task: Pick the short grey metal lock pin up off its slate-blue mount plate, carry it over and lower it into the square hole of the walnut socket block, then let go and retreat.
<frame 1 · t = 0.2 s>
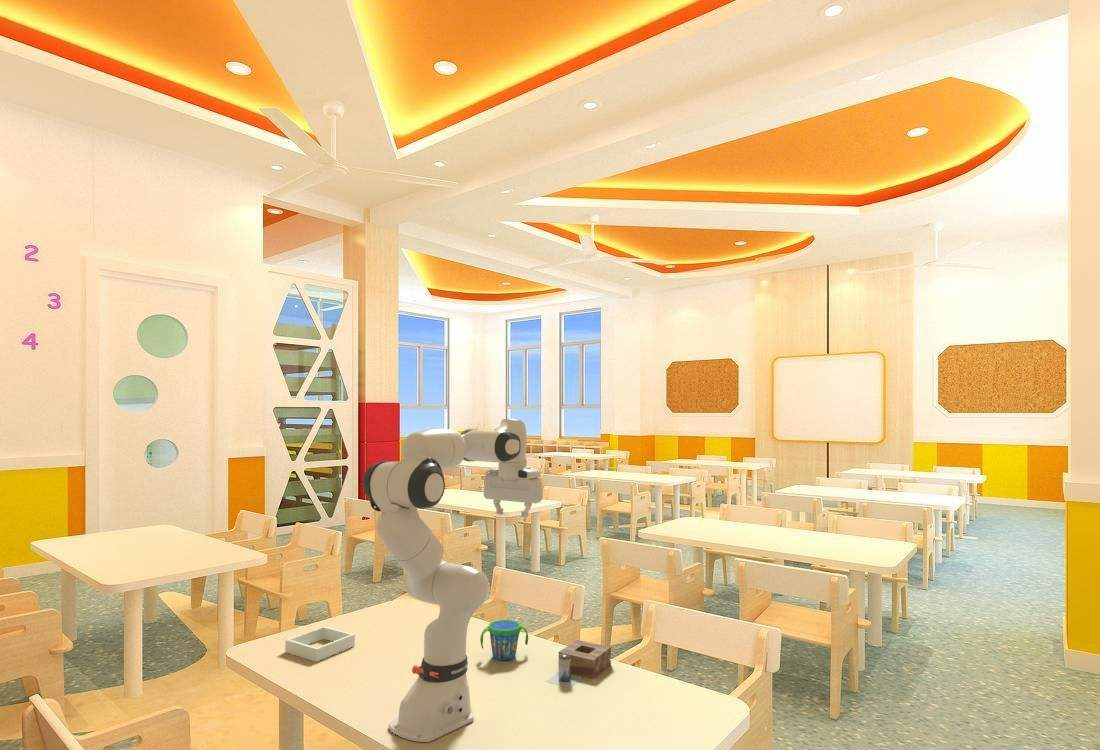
hand: (512, 515, 194), 47 cm above the table, fingers open, 8 cm apart
mount plate: (564, 681, 185), on the table
socket block: (585, 669, 194), on the table
lock pin: (564, 679, 185), point 1 cm above the table, touching mount plate
coaster tray: (320, 649, 209), on the table
snack cup: (504, 657, 203), on the table
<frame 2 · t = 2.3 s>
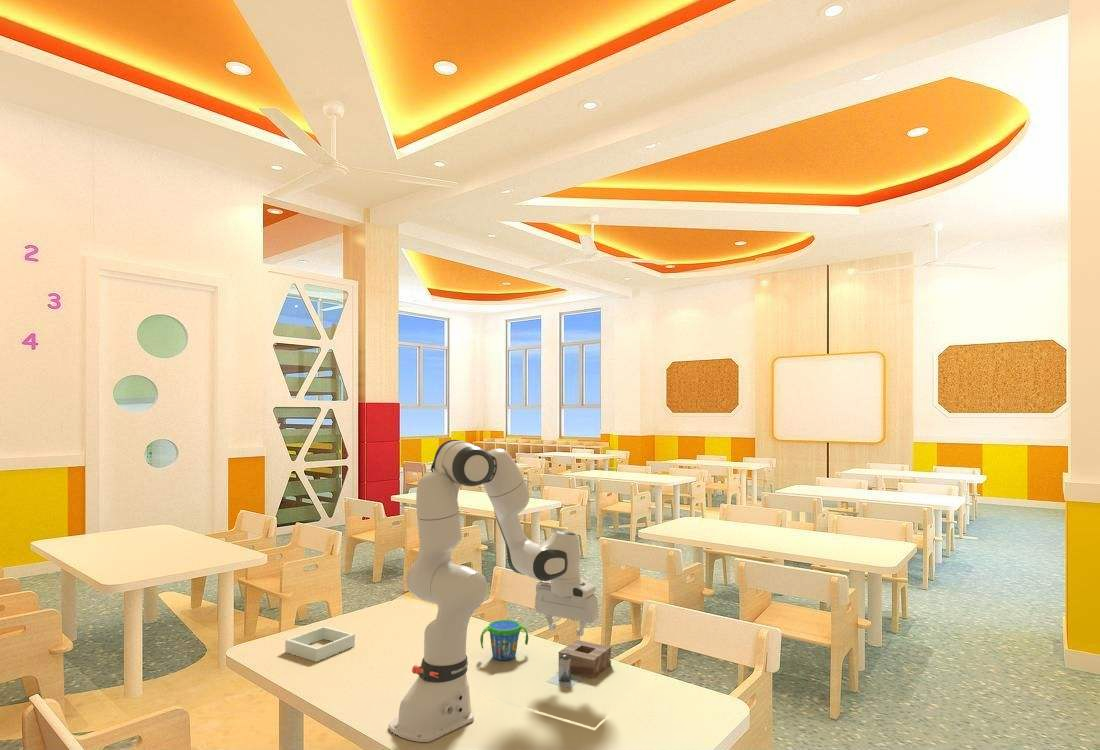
hand: (566, 632, 186), 14 cm above the table, fingers open, 8 cm apart
nothing on the table moved.
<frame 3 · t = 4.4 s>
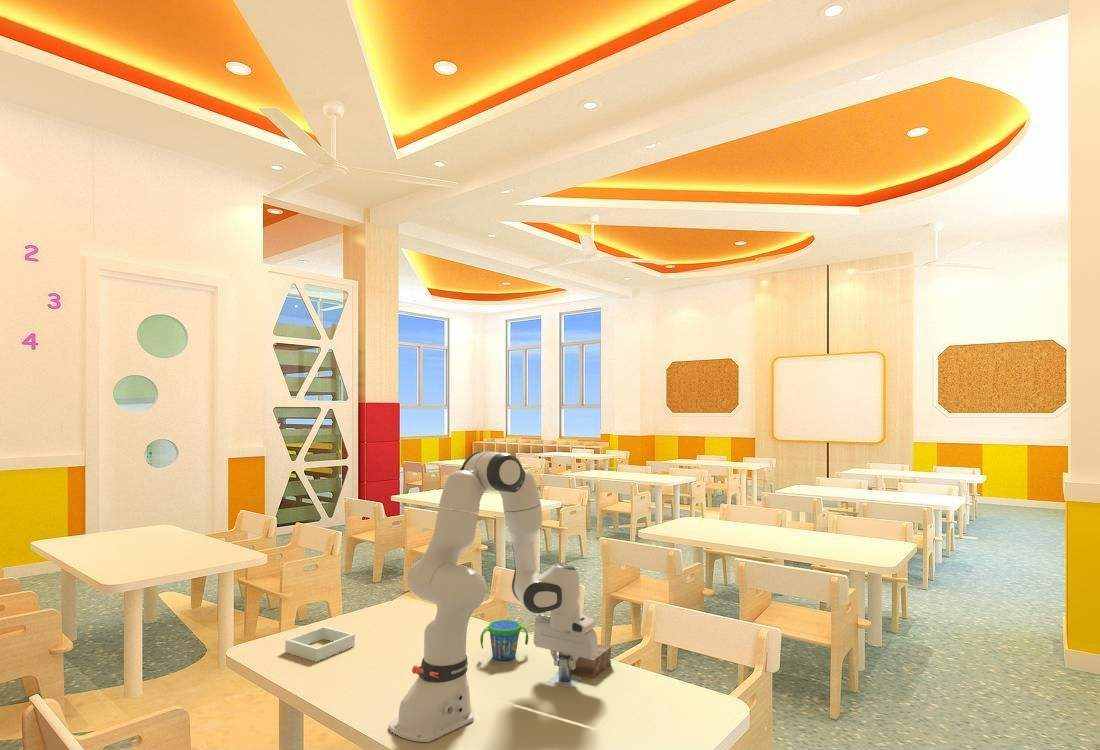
hand: (564, 667, 185), 4 cm above the table, fingers closed on lock pin, 4 cm apart
lock pin: (564, 679, 185), point 1 cm above the table, touching gripper, mount plate
everything else where it was.
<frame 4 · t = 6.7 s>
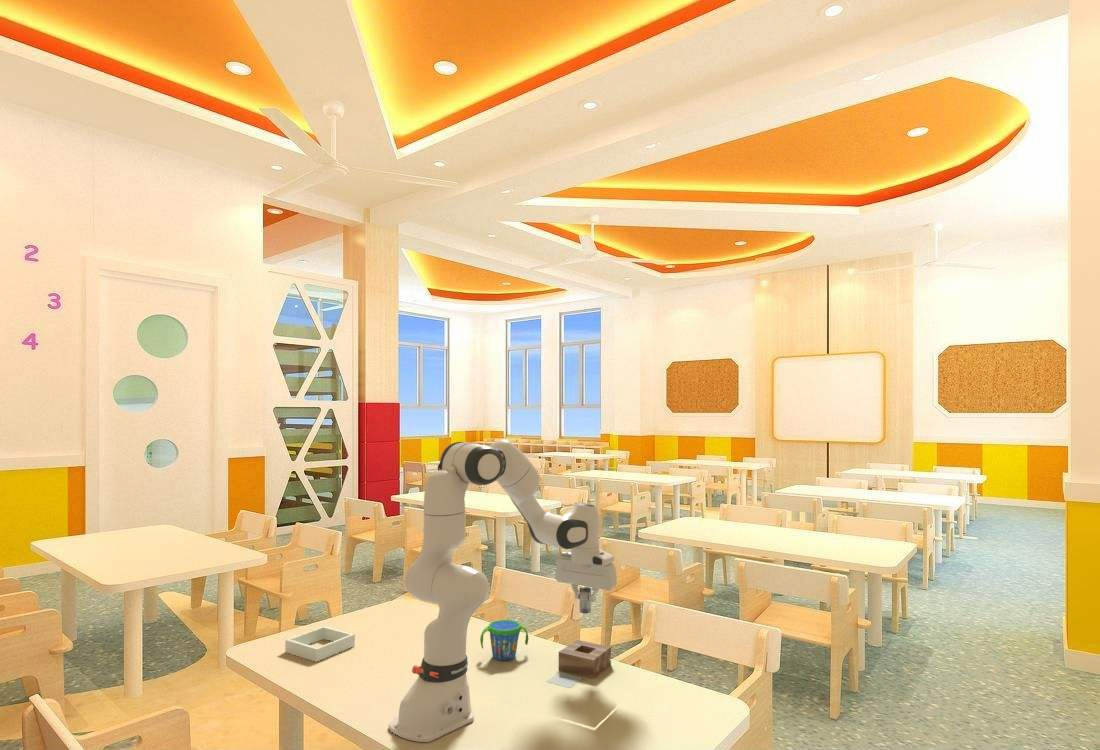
hand: (585, 599, 195), 21 cm above the table, fingers closed on lock pin, 4 cm apart
lock pin: (585, 611, 195), point 18 cm above the table, touching gripper
everything else where it was.
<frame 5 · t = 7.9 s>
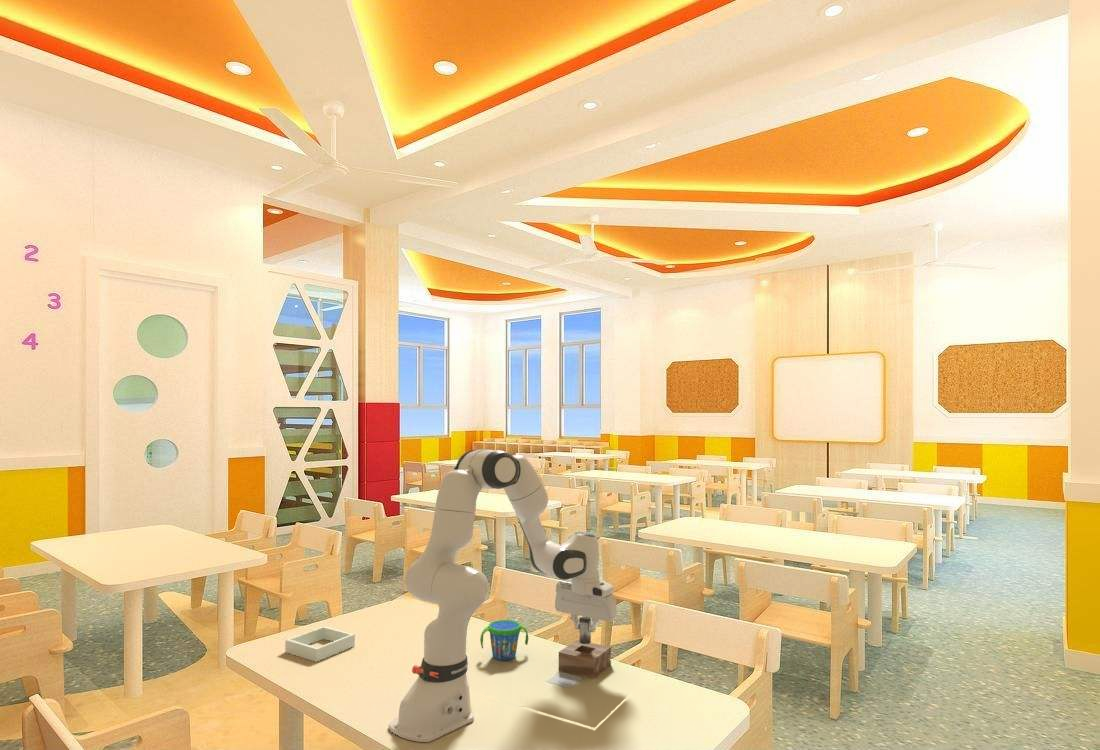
hand: (585, 630, 194), 12 cm above the table, fingers closed on lock pin, 4 cm apart
lock pin: (585, 641, 194), point 8 cm above the table, touching gripper
everything else where it was.
when the fingers open (8 cm above the table, at t = 9.0 s): lock pin drops 4 cm, resting in socket block.
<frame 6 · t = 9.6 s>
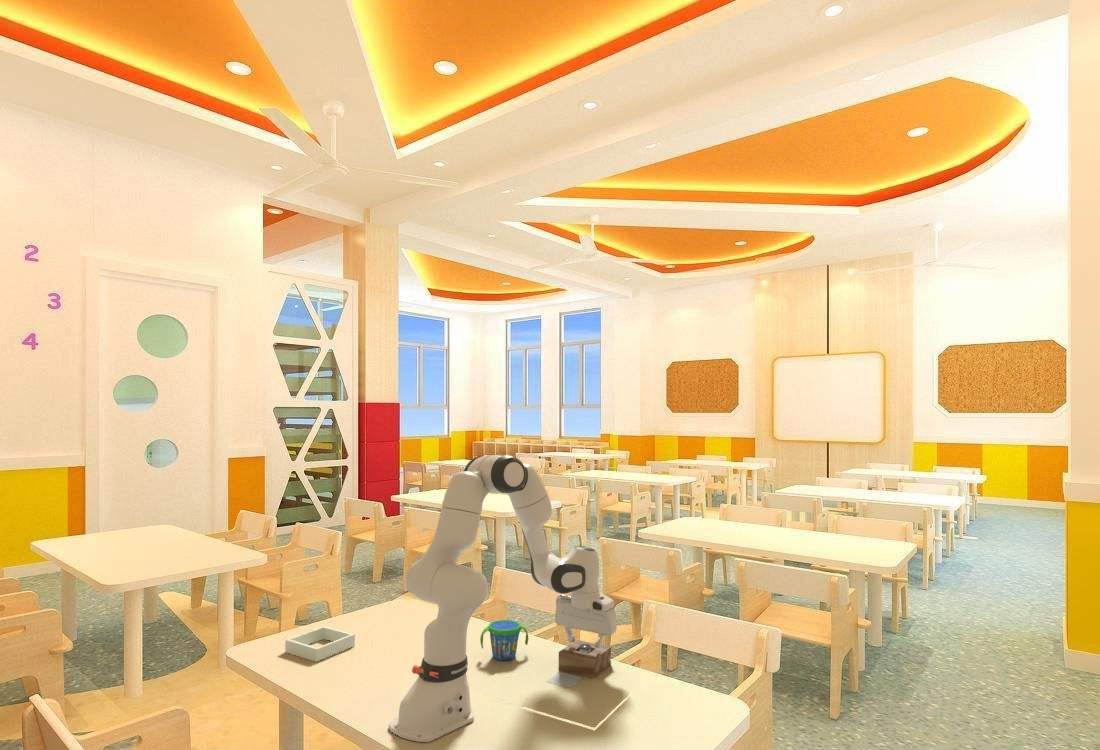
hand: (584, 644, 194), 8 cm above the table, fingers open, 8 cm apart
lock pin: (585, 669, 194), resting in socket block
everything else where it was.
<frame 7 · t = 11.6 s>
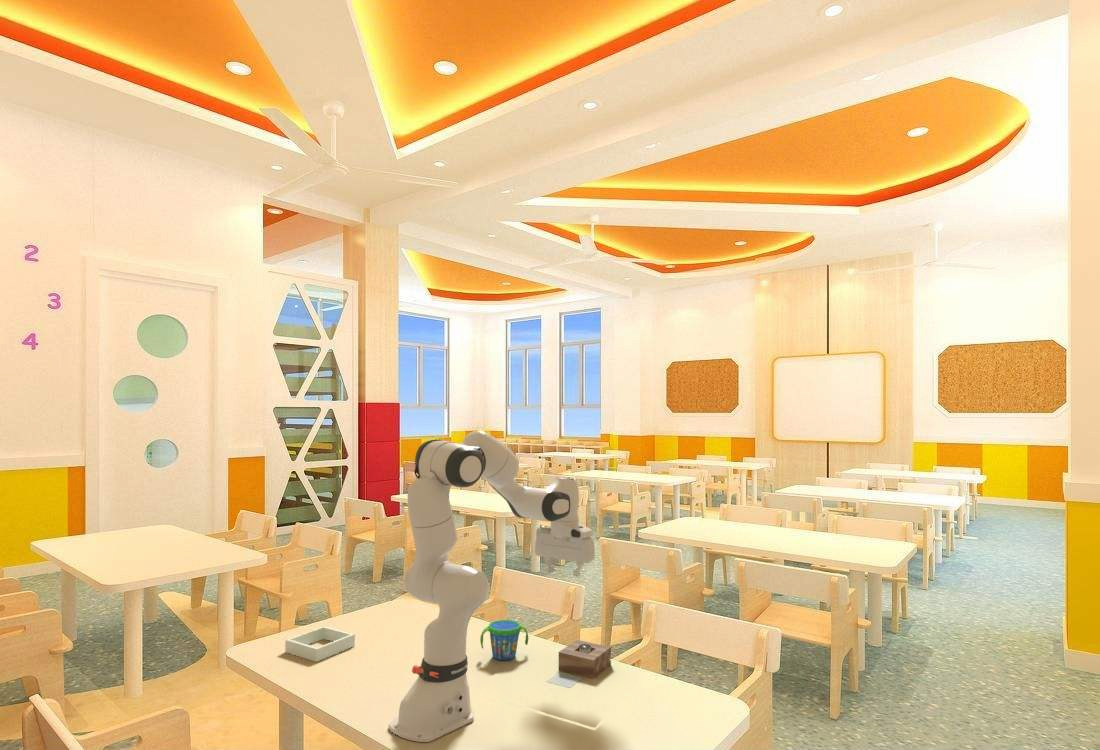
hand: (563, 573, 196), 29 cm above the table, fingers open, 8 cm apart
nothing on the table moved.
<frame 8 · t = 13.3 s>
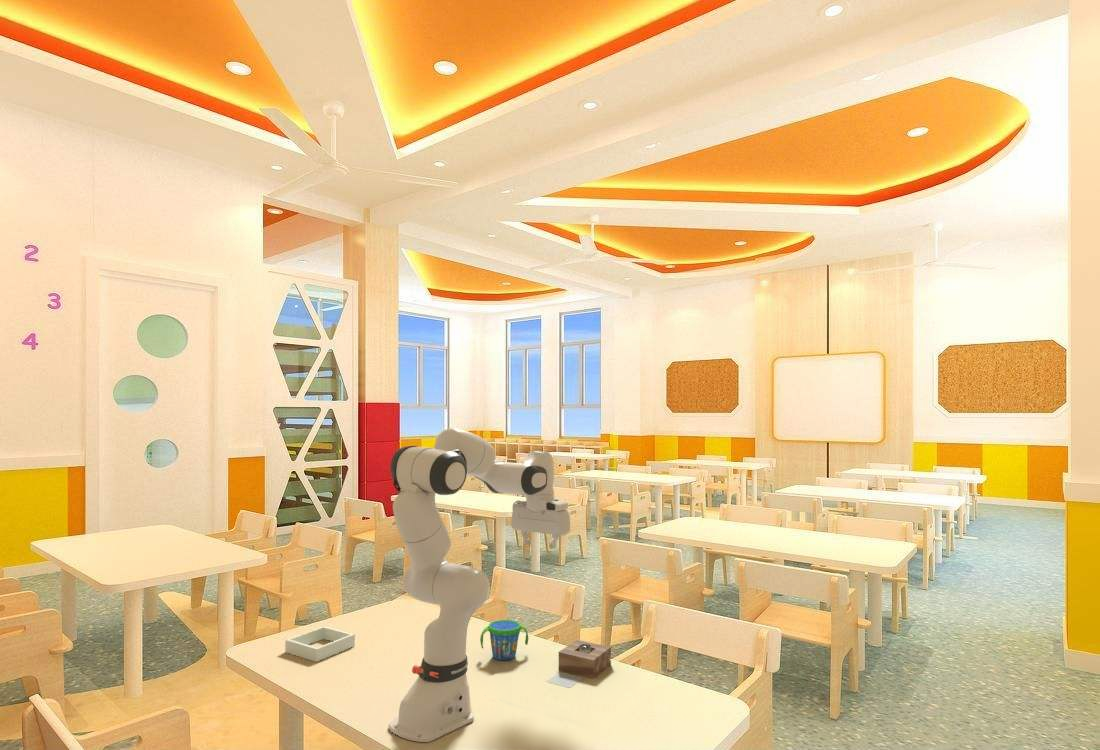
hand: (539, 546, 197), 37 cm above the table, fingers open, 8 cm apart
nothing on the table moved.
at the end: lock pin 0.0 cm off-centre on the socket block, point 0.0 cm above the socket block's base; lock pin tilted 0°; the gripper is holding nothing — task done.
